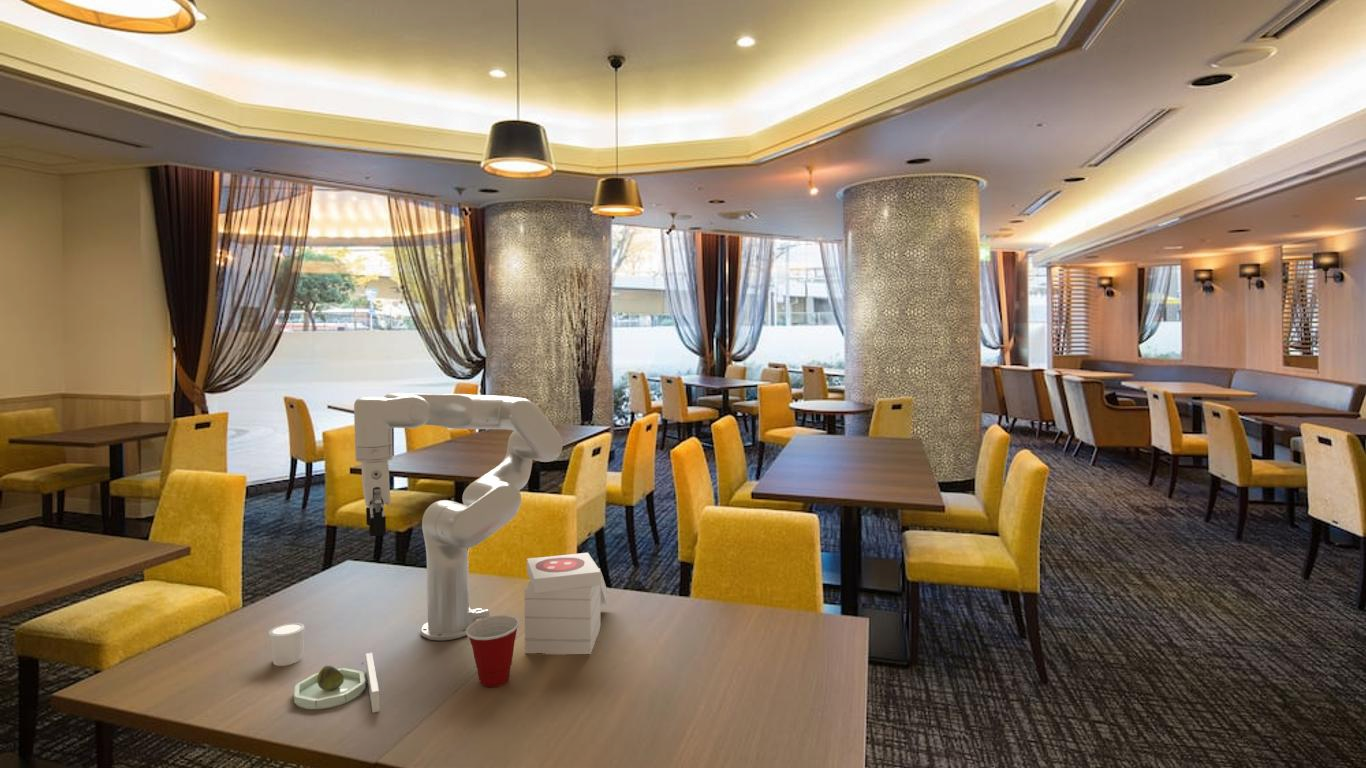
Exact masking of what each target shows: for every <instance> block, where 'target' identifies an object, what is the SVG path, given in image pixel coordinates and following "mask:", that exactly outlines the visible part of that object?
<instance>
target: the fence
mask: <svg viewBox="0 0 1366 768" xmlns="http://www.w3.org/2000/svg"><path fill="white" fill-rule="evenodd" d="M365 669H366V670H365V672H366V673H365V674H366V679H367V680H366V681H367V685H368V691H369V698H370V705H371V711H372V714H373V713H377V712H380V690H379V683H378V677H377V673H376V668H375V661H374V656H373V652H368V653H365Z"/></svg>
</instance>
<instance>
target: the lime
mask: <svg viewBox="0 0 1366 768" xmlns="http://www.w3.org/2000/svg"><path fill="white" fill-rule="evenodd" d="M337 669H338V668H335V667H334V666H332V665H324V666H323V667H322V668H321V670H319V672H318V673H319V674H318V676H317V683H318V685H319V687H320V688H321V689H323V690H334V689H336V688H338V687H340V686H341V685H342V683H343V682H344V677H343V675H342V674H341V673H340V671H339V670H337Z"/></svg>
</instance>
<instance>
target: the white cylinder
mask: <svg viewBox="0 0 1366 768" xmlns="http://www.w3.org/2000/svg"><path fill="white" fill-rule="evenodd" d="M268 637H269V644H270V650H271V658H272V663H273V665H275V666H278V667H280V666H281V667H284V666H289V665H293V663H294V664H296V663H298V662H300V661H301V660H302V659H303V654H304V639H305V624H303V623H299V622H291V623H285V624H281V625H277V626H274V627H273V628H271V629H270V630H269V632H268Z"/></svg>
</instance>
